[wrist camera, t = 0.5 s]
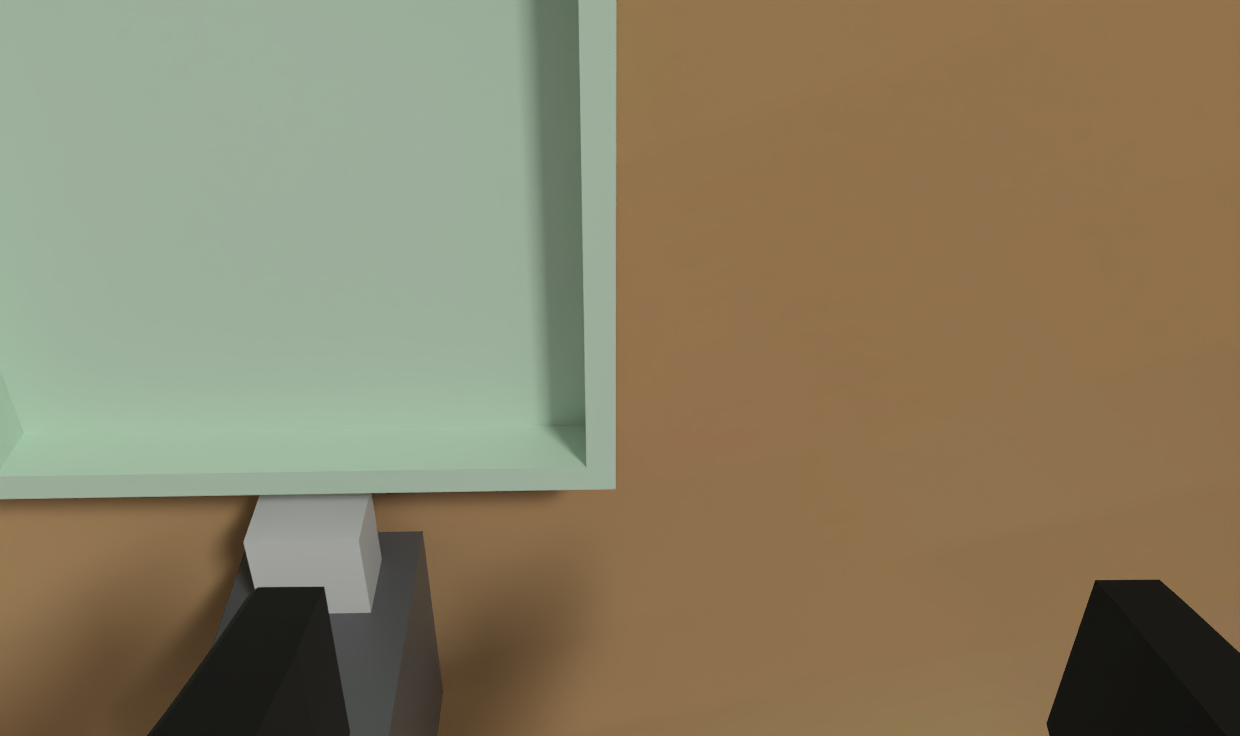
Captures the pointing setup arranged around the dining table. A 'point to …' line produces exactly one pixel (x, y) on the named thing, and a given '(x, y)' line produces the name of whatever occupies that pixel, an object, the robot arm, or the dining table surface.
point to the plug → (354, 602)
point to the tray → (306, 247)
